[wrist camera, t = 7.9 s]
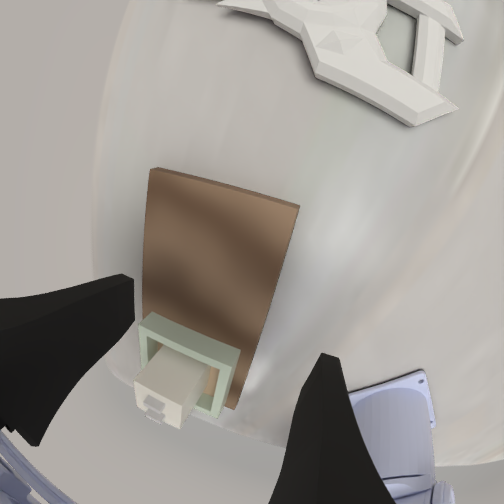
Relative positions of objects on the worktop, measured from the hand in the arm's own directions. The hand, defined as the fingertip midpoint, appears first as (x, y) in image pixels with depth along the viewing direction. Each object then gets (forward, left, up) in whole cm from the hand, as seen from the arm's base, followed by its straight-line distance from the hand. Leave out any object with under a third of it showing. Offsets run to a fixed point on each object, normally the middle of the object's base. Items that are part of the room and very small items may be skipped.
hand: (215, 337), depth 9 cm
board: (-2, +8, -9) cm, 13 cm away
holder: (-6, +12, -9) cm, 16 cm away
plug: (-6, +12, -8) cm, 15 cm away
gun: (+11, -11, -10) cm, 19 cm away
